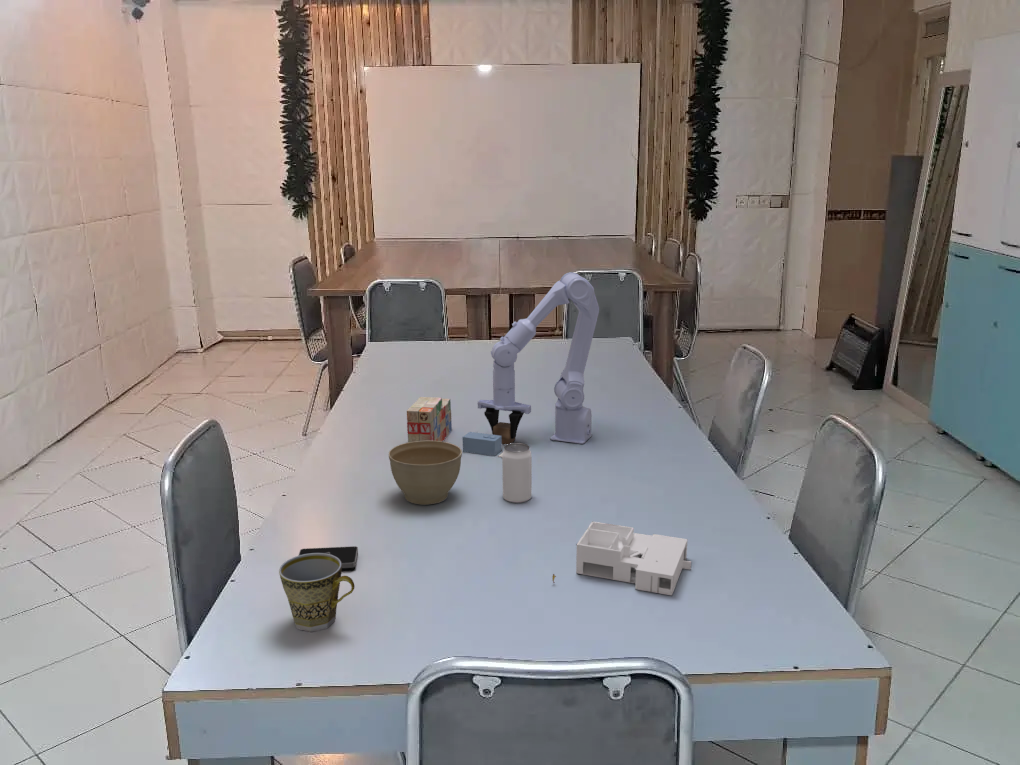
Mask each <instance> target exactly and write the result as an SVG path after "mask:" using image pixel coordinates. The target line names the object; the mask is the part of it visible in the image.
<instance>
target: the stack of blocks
mask: <svg viewBox="0 0 1020 765" xmlns="http://www.w3.org/2000/svg"><path fill="white" fill-rule="evenodd" d="M451 407H452V404H451V398H442V397H437V396H436V397H434V396H433V397H432V396H430V397H429V396H419V397H418V398H417V399H416V401H415V402H414V403H412V405H411V406H409V408H408V409H407V410H406V428H407V429H406V430H407V431H406V432H407V443H408V442H415V441H443V440H445V439H446V438H448V436H449V434H450V433H451V431H452V430H453V429H452V428H453V427H452V426H453V425H452V424H453V423H452V408H451ZM445 437H446V438H445ZM443 442H444V441H443Z"/></svg>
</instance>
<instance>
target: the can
mask: <svg viewBox="0 0 1020 765" xmlns="http://www.w3.org/2000/svg"><path fill="white" fill-rule="evenodd" d="M502 452H503V454H502V457H501V459H502V464H501V465H502V470H501V471H502V475H501V476H502V477H501V479H502V498H503V500H505V501H506V502H509V503H513V504H521V503H525V502H528V501H529V500H530V499H531V498H532V488H533V487H532V483H533V482H532V478H533V476H532V475H533V474H532V467H533V465H532V464H533V463H532V457H533V456H532V452H531V450H530V446H529V445H528V444H526V443H520V442H514V443H513V442H512V443H511V444H508V445H504V447H503V451H502Z"/></svg>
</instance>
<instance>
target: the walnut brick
mask: <svg viewBox="0 0 1020 765" xmlns="http://www.w3.org/2000/svg"><path fill="white" fill-rule="evenodd" d="M510 429H511V428H510V422H504V421H503V422H502V421H498V424H496V425H495V426H494V427H493V434H492V435H499V436H502V445H504V444H510V443H511V444H512V443H513V442H514V440H515V441H516V437H515V438H514V439H511V436H510Z"/></svg>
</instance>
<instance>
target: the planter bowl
mask: <svg viewBox="0 0 1020 765" xmlns="http://www.w3.org/2000/svg"><path fill="white" fill-rule="evenodd" d="M462 456H463V449H461V447H459V445H456V444H453V443H451V442H447V441H443V442H442V441H415V442H408V441H407V442H404V443H401V444H398V445H396V446H394V447H392V448H391V449H390V450H389V452H388V458H389V462H390V463H389V464H390V469H391V470H390V471H391V473H392V476H393V479H394V481H395V483H396V485H397V487H398V488H399V490H400V491H401V492H402V493H403V495H404V498H405V500H406V501H407V502H409V503H411V504H414V505H421V506H423V505H425V506H426V505H428V506H429V505H435V504H439V503H441V502H444V501H446V499H447V498H448V496H449V492H450V491H451V489H452V488H453V486H454V485H455V483H456V481H457V479H458V476H459V474H460V470H461V461H462Z"/></svg>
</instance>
